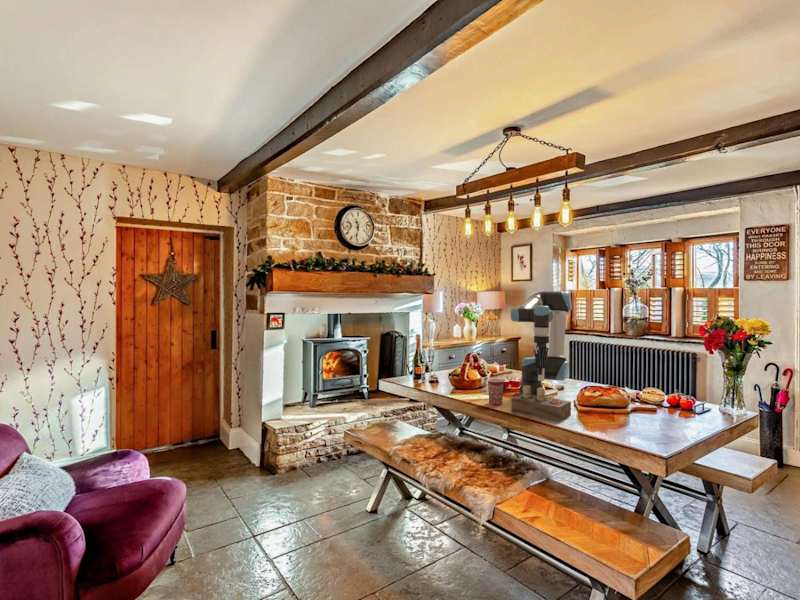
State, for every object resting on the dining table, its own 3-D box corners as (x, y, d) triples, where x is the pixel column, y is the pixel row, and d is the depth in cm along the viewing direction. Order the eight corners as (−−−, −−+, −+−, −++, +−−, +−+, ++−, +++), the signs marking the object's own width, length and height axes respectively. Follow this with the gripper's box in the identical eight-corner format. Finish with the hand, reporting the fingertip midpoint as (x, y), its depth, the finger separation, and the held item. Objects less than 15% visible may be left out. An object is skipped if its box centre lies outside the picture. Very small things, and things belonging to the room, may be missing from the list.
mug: (496, 406, 245) (496, 382, 245) (484, 403, 253) (484, 379, 252) (511, 403, 253) (511, 379, 252) (499, 399, 260) (499, 376, 260)
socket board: (523, 406, 246) (523, 393, 246) (570, 415, 229) (570, 401, 229) (511, 411, 236) (511, 398, 236) (559, 421, 218) (559, 407, 218)
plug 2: (553, 413, 230) (553, 397, 229) (561, 414, 227) (561, 398, 227) (550, 414, 227) (550, 398, 227) (557, 416, 224) (558, 399, 224)
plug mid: (538, 403, 235) (538, 387, 235) (546, 404, 232) (546, 388, 232) (535, 404, 232) (535, 388, 232) (542, 406, 229) (542, 389, 229)
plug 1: (524, 400, 240) (524, 385, 240) (531, 401, 238) (531, 386, 237) (521, 402, 237) (521, 386, 237) (528, 403, 235) (528, 387, 234)
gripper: (540, 334, 238) (539, 377, 239) (529, 335, 229) (528, 381, 229) (553, 334, 233) (553, 379, 234) (543, 337, 224) (542, 383, 224)
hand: (541, 380), depth 231 cm, fingers closed
